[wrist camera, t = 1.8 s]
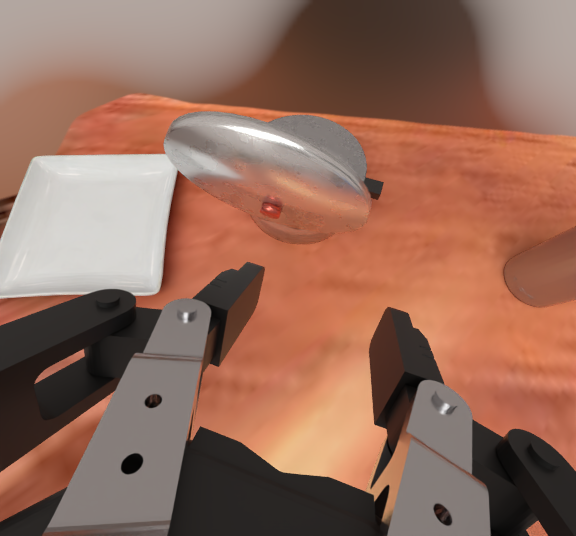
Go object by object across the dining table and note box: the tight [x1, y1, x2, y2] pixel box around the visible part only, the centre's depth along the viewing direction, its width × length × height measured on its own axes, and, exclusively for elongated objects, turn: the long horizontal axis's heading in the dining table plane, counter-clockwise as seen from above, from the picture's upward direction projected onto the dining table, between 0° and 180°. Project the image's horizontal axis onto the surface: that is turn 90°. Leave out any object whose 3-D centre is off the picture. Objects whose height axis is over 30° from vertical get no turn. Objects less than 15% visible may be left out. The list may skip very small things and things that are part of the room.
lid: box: [164, 112, 372, 233], centre depth 29 cm, size 22×21×2 cm
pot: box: [250, 115, 384, 244], centre depth 47 cm, size 20×26×9 cm
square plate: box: [0, 154, 178, 298], centre depth 47 cm, size 27×27×4 cm
